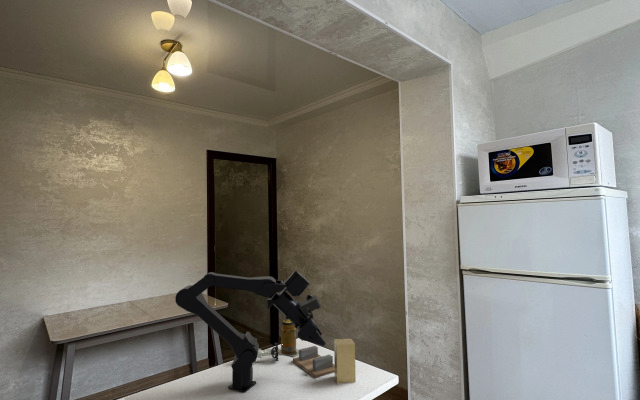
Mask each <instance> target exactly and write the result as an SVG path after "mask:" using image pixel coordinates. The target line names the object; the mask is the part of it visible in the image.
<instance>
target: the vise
mask: <svg viewBox="0 0 640 400" xmlns="http://www.w3.org/2000/svg"><path fill="white" fill-rule="evenodd" d="M318 348H319V347H318V346H316V345H313V346H309V347H305V348H301V349H299V354H298V356H296V357H293V358H292V362H293V363H294V364H296V365H298V367H300V368H301V369H303V370H304V372H306V373H308V374H309V375H311V376H312V377H313V378H314V379H316V378H321V377H323V376H327V375H330V374H333V373H334V374H335V363H333V362H334V357H333V355H331V354H326V355H320V353H319V351H318V350H319V349H318Z"/></svg>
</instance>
